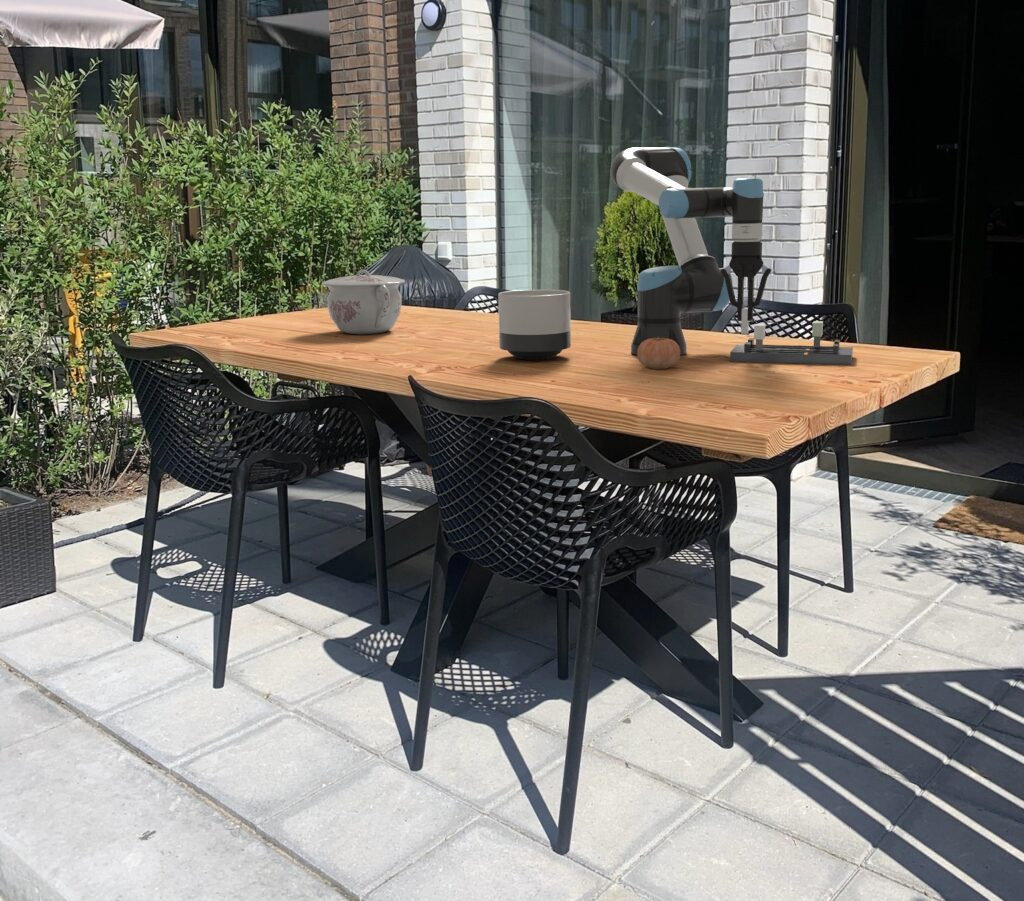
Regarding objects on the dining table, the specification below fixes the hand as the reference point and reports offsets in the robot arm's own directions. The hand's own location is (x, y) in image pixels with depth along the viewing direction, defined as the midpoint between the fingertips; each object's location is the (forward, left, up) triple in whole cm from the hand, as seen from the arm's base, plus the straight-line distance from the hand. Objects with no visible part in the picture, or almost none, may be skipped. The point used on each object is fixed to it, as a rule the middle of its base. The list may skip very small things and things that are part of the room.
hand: (744, 333), depth 280 cm
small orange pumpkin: (-19, -17, -7) cm, 27 cm away
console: (+12, +3, -7) cm, 14 cm away
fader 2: (+18, +8, -4) cm, 20 cm away
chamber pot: (-128, +40, -7) cm, 135 cm away
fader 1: (+4, 0, -4) cm, 6 cm away
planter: (-55, -6, -7) cm, 56 cm away
